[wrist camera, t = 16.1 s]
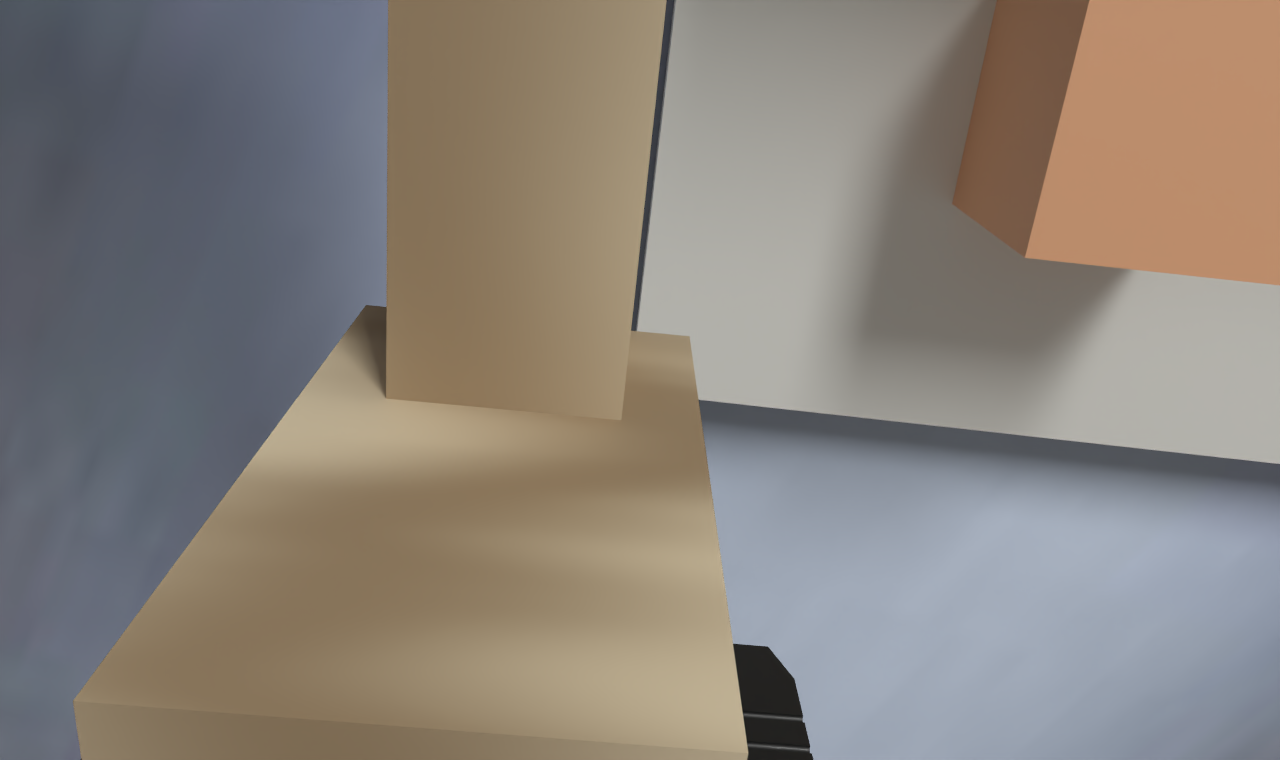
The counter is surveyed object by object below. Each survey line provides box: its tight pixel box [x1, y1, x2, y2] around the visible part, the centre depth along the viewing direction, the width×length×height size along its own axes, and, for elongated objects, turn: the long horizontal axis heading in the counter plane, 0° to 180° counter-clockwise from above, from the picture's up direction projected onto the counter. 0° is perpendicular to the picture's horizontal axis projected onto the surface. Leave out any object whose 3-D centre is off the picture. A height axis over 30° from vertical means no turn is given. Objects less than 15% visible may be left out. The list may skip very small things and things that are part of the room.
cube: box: [952, 0, 1280, 285], centre depth 20 cm, size 5×5×5 cm
